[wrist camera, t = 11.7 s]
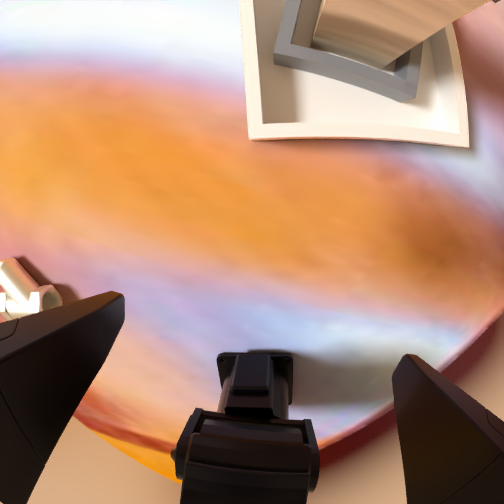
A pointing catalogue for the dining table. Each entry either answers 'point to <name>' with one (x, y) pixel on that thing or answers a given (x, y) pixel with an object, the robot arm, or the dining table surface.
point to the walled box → (346, 84)
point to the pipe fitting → (23, 292)
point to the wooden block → (382, 26)
